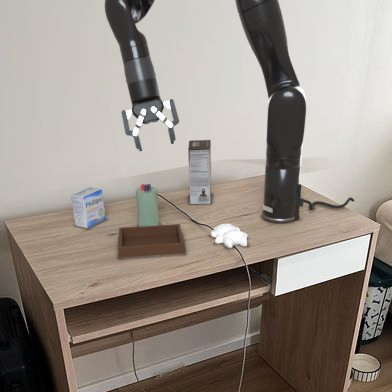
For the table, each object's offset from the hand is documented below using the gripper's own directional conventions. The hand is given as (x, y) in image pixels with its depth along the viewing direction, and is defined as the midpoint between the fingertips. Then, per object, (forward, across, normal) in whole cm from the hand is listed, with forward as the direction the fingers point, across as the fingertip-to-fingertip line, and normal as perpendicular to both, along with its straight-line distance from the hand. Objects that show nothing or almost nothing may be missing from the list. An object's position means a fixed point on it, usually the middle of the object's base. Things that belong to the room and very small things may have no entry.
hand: (156, 147), depth 142 cm
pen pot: (+19, -7, -2) cm, 20 cm away
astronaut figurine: (+26, +12, -14) cm, 32 cm away
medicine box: (+15, -22, +2) cm, 27 cm away
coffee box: (+17, +10, +16) cm, 25 cm away
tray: (+22, -7, -15) cm, 28 cm away
